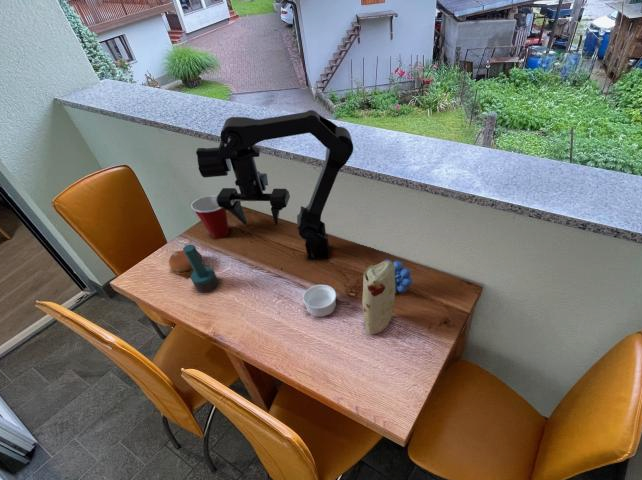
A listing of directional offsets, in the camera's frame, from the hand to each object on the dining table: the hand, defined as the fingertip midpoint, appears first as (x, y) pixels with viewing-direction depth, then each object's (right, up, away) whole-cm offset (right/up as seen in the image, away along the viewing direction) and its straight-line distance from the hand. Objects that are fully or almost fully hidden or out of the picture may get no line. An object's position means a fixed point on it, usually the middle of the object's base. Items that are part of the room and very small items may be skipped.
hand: (261, 223), depth 100 cm
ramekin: (+18, -24, -5) cm, 31 cm away
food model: (+34, -29, -10) cm, 46 cm away
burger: (-25, -12, +7) cm, 29 cm away
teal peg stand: (-16, -18, +2) cm, 24 cm away
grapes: (+39, -19, -1) cm, 43 cm away
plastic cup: (-20, +1, +19) cm, 28 cm away
